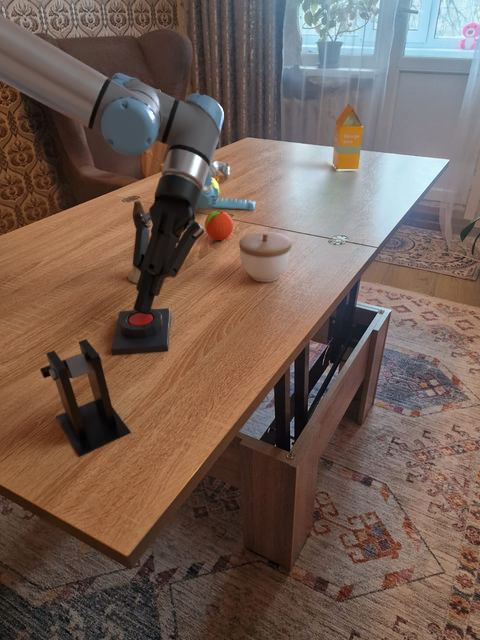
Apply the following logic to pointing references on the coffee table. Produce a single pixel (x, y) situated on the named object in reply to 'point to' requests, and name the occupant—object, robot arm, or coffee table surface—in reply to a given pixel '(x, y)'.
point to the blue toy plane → (211, 198)
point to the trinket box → (265, 255)
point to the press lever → (71, 367)
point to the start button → (140, 319)
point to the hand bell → (139, 209)
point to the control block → (142, 333)
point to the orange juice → (347, 140)
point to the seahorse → (218, 169)
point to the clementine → (219, 225)
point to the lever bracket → (87, 405)
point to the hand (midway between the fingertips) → (141, 311)
